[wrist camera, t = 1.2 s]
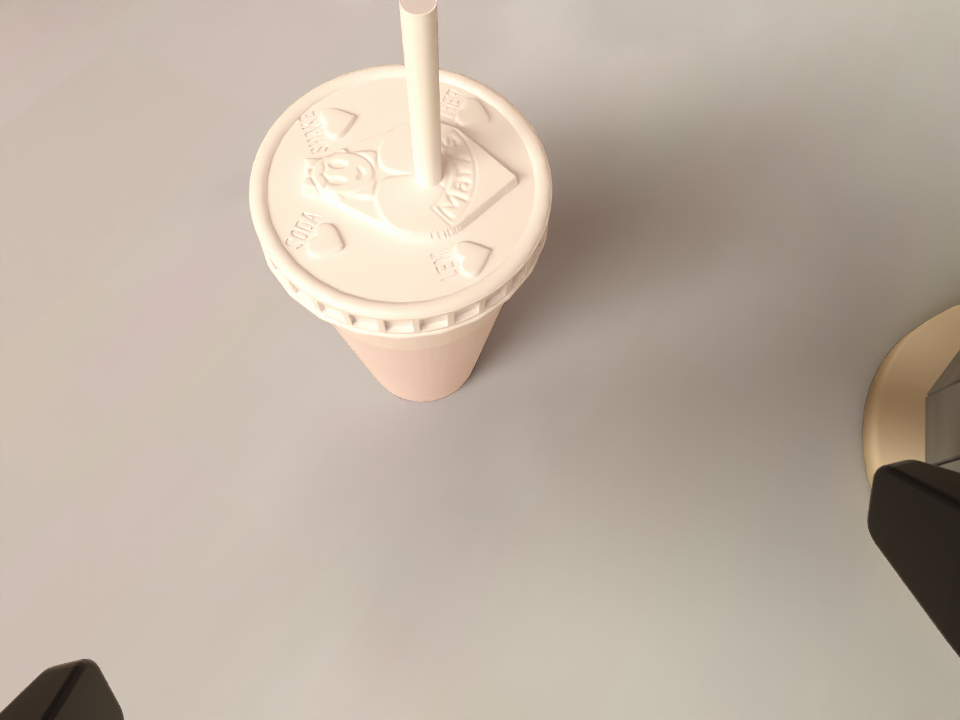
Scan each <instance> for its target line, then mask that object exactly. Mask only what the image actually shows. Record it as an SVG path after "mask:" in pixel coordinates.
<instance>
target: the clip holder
mask: <svg viewBox="0 0 960 720" xmlns="http://www.w3.org/2000/svg"><path fill="white" fill-rule="evenodd" d="M862 438H863V455H864V461H865V467H866V473H867V477H868V481H869V484H870V488H871V489H872V481H873V476H874V473H875V472H876V470H877V469H878V468H879V467H881V466H883V465H886V464H890V463H894V462H899V461H903V460H909V459H913V460H919V461H922V462H926V463H929V464H932V465H936V466H939V467H943V468H946V469H950V470H953V471H956V472H960V304H959V305H956V306H953V307H951V308H949V309H947V310H946V311H944V312H942V313H940V314H938V315H936V316H935V317H933V318H931V319H930V320H928V321H926V322H925V323H923V324H922V325H920V326H918V327H917V328H915V329H914V330H913V331H911V332H910V333H909V334H907V335H906V336H905V337H903V338H902V339H901V340H900V341H899V342H898V343H897V344H896V345H895V346H894V348H893V349H892V350H891V351H890V352H889V353H888V354H887V356H886V357H885V359H884V360H883V362H882V363H881V365H880V367H879V368H878V370H877V372H876V374H875V377H874V379H873V381H872V383H871V386H870V388H869V392H868V396H867V400H866V403H865V408H864V417H863V425H862Z"/></svg>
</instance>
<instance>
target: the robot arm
mask: <svg viewBox="0 0 960 720" xmlns="http://www.w3.org/2000/svg"><path fill="white" fill-rule="evenodd" d="M867 523H868V529H869V532H870V535H871V537H872V539H873V540H874V542H875V544H876V545H877V546H878V548H879V549H880V551H881V552H882V553H883V555H884V556H885V557H886V559H887V560H888V561H889V563H890V564H891V566H892V567H893V568H894V570H895V571H896V572H897V574H898V575H899V577H900V578H901V579H902V581H903V582H904V583H905V585H906V586H907V587H908V589H909V590H910V592H911V593H912V594H913V596H914V597H915V598H916V600H917V601H918V603H919V604H920V605H921V607H922V608H923V609H924V611H925V612H926V613H927V615H928V616H929V618H930V619H931V620H932V622H933V623H934V624H935V626H936V627H937V629H938V630H939V631H940V633H941V634H942V635H943V637H944V638H945V639H946V640H947V642H948V643H949V644H950V646H951V647H952V648H953V650H954V651H955V652H956V653H957V655H958V656H959V657H960V472H956V471H953V470H950V469H946V468H943V467H939V466H936V465H932V464H929V463H926V462H922V461H919V460H913V459H909V460H903V461H899V462H894V463H890V464H886V465H883V466H881V467H879V468H878V469H877V470H876V472H875V473H874V476H873V481H872V489H871V496H870V503H869V511H868V518H867ZM0 720H124V717H123V713H122V710H121V707H120V705H119V703H118V701H117V700H116V698H115V696H114V694H113V692H112V690H111V688H110V687H109V685H108V683H107V681H106V679H105V677H104V675H103V674H102V672H101V670H100V668H99V667H98V665H97V664H96V663H95V662H94V661H92V660H90V659H81V660H77V661H72V662H68V663H64V664H60V665H56V666H53V667H50V668H48V669H46V670H45V671H44V672H42V673H41V674H40V675H39V676H38V677H37V678H36V679H35V680H34V681H33V682H32V683H31V684H30V685H29V686H28V687H26V688H25V689H24V690H23V691H22V692H21V693H20V694H19V695H18V696H17V697H16V698H15V699H14V700H13V701H12V702H11V703H10V704H9V705H8V706H7V707H6V708H5V709H4V710H3V711H2V712H1V713H0Z"/></svg>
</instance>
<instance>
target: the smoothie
mask: <svg viewBox="0 0 960 720" xmlns="http://www.w3.org/2000/svg"><path fill="white" fill-rule="evenodd" d="M399 6H400V17H401V28H402V39H403V50H404V61H405V64H402V65H382V66H376V67H370V68H365V69H361V70H357V71H353V72H350V73H347V74H344V75H341V76H339V77H336V78H334V79H331V80H329V81H327V82H325V83H323V84H321V85H319V86H318V87H316V88H314V89H313V90H311V91H309V92H308V93H306V94H305V95H303V96H302V97H301V98H300V99H298V100H297V101H296V102H294V103H293V104H292V105H291V106H290V107H289V108H288V109H287V110H286V111H285V112H284V113H283V114H282V115H281V116H280V117H279V118H278V119H277V121H276V122H275V123H274V124H273V126H272V127H271V129H270V130H269V131H268V133H267V135H266V136H265V138H264V140H263V141H262V143H261V146H260V148H259V150H258V152H257V155H256V158H255V161H254V164H253V167H252V172H251V177H250V186H249V204H250V210H251V217H252V220H253V224H254V228H255V231H256V233H257V235H258V238H259V240H260V243H261V246H262V249H263V252H264V255H265V257H266V260H267V263H268V266H269V268H270V269H271V271H272V272H273V273H274V275H275V276H276V277H277V279H278V280H279V281H280V283H281V284H282V285H283V287H284V288H285V290H286V291H287V292H288V294H289V295H290V296H291V297H292V298H294V299H295V300H296V301H298V302H299V303H300V304H302V305H303V306H304V307H305V308H307V309H308V310H309V311H311V312H312V313H313V314H315V315H316V316H317V317H319V318H320V319H322V320H324V321H327V322H329V323H332V324H333V326H334V327H335V328H336V329H337V331H338V332H339V333H340V334H341V336H342V337H343V338H344V339H345V340H346V342H347V343H348V344H349V345H350V347H351V348H352V349H353V350H354V352H355V353H356V354H357V355H358V356H359V358H360V359H361V360H362V361H363V363H364V364H365V365H366V366H367V368H368V369H369V370H370V371H371V372H372V374H373V375H374V376H375V377H376V379H377V380H378V381H379V382H380V383H381V384H382V386H383V387H385V388H386V389H387V390H388V391H389V392H391V393H393V394H394V395H396V396H398V397H400V398H403V399H406V400H410V401H418V402H426V401H433V400H438V399H441V398H443V397H446V396H448V395H450V394H451V393H453V392H454V391H456V390H457V389H458V388H460V387H461V386H462V385H463V384H464V383H465V381H466V380H467V379H468V377H469V376H470V374H471V372H472V370H473V368H474V366H475V364H476V361H477V359H478V357H479V355H480V353H481V351H482V348H483V346H484V344H485V342H486V340H487V338H488V336H489V333H490V331H491V329H492V327H493V325H494V323H495V320H496V318H497V316H498V314H499V312H500V310H501V307H502V305H503V303H505V302H506V301H508V300H509V299H510V298H511V297H512V295H513V294H514V293H515V292H516V291H517V289H518V288H519V287H520V286H521V285H522V283H523V282H524V281H525V280H526V279H527V278H528V276H529V275H530V274H531V273H532V272H533V269H534V267H535V265H536V263H537V260H538V258H539V256H540V253H541V251H542V249H543V247H544V244H545V242H546V239H547V230H548V221H549V214H550V209H551V202H552V178H551V171H550V166H549V162H548V158H547V156H546V153H545V150H544V147H543V145H542V143H541V141H540V139H539V137H538V135H537V134H536V132H535V130H534V129H533V127H532V126H531V125H530V123H529V122H528V121H527V119H526V118H525V117H524V116H523V115H522V113H521V112H520V111H519V110H518V109H517V108H516V107H515V106H514V105H513V104H511V103H510V102H509V101H508V100H507V99H506V98H504V97H503V96H502V95H500V94H499V93H497V92H496V91H494V90H493V89H491V88H489V87H488V86H486V85H484V84H482V83H480V82H478V81H476V80H474V79H472V78H470V77H467V76H465V75H462V74H459V73H456V72H453V71H449V70H445V69H441V68H439V56H438V22H437V0H399Z"/></svg>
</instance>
